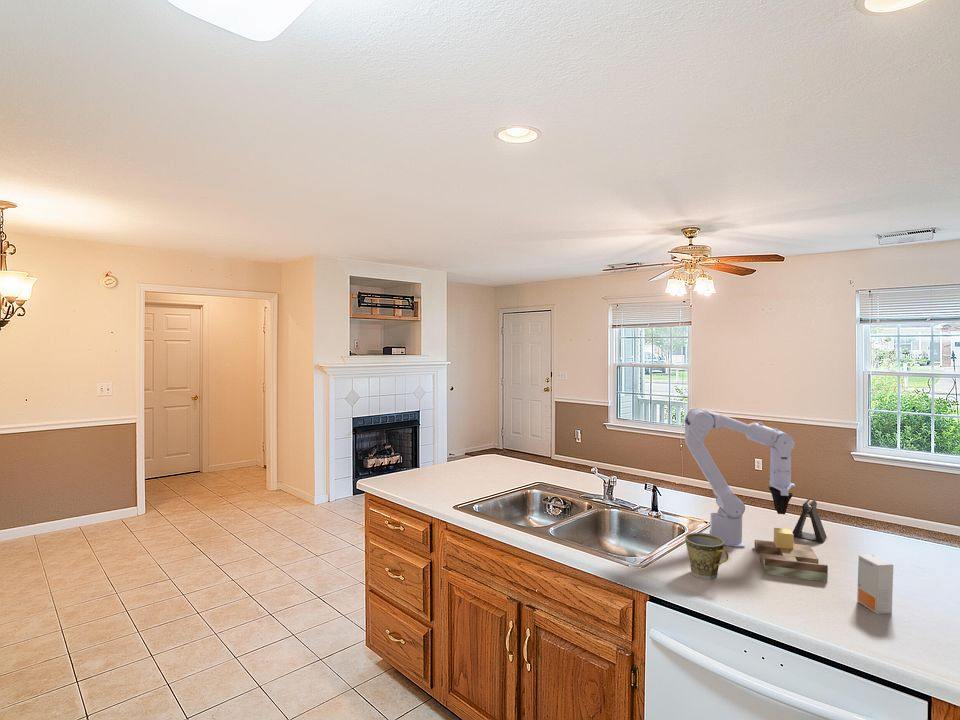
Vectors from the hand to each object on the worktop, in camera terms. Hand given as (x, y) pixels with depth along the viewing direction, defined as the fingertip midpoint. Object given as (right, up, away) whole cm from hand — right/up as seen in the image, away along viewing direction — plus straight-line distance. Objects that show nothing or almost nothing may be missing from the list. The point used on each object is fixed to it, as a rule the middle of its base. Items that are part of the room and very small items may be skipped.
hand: (780, 511), depth 169 cm
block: (-3, -8, -7) cm, 11 cm away
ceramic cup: (-32, -12, -22) cm, 41 cm away
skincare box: (+1, -12, -39) cm, 41 cm away
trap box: (-5, -11, -14) cm, 18 cm away
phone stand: (+13, -10, +6) cm, 18 cm away
